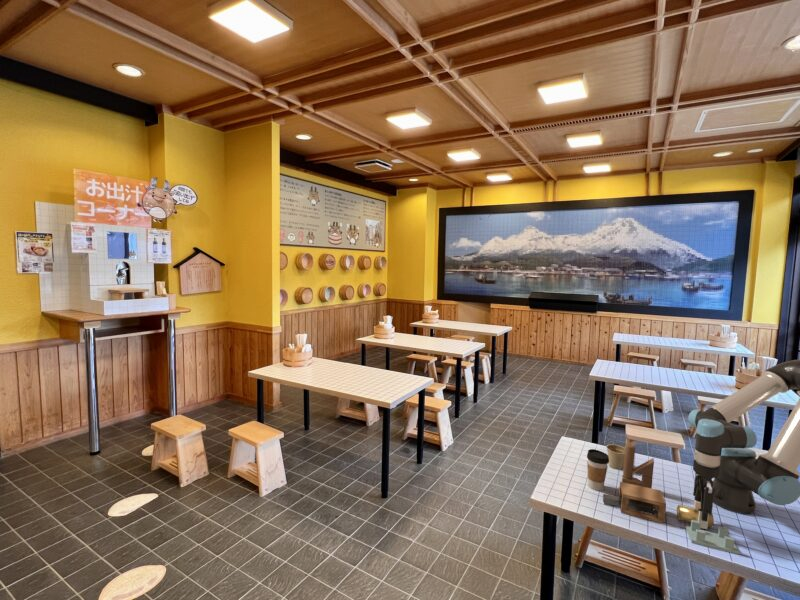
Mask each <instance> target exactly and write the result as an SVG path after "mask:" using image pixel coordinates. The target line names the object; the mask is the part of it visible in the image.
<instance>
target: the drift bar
mask: <svg viewBox="0 0 800 600" xmlns="http://www.w3.org/2000/svg"><path fill="white" fill-rule="evenodd" d="M602 502H603V505H606V506H611V507H616V508H620V509H621V502H622V497H619V495H618V496H617V495H612V494H611V495H610V494H607V493H603V494H602ZM628 509H632V510H636V511H641V512H645V513H649V514H653V515H654V511H655V510H654V507H653V505H652V504H651V503H647V502H643V501H638V500H634V499H628Z"/></svg>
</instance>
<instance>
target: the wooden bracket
mask: <svg viewBox="0 0 800 600" xmlns="http://www.w3.org/2000/svg"><path fill="white" fill-rule="evenodd" d="M624 448H625V458H624V467H623V469H622V470H623V473H622V476H621V482H623V483H628V484H633V485H637V486H642V487H647V488H651V489H653V478H654V477H653V476H654V468H655V467H654V464H655V460H654V459H655V458H654V457H652V458H650V459H649V460H646V461H645V462H643V463H641V464H639V465H637V466H636V467H634V466H635V465H634V464H635V454H636V445H633V444H631V443H626V444H625V447H624ZM634 474H638V475H641V480H640V479H638V478H637V477H633V475H634Z"/></svg>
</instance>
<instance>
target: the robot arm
mask: <svg viewBox="0 0 800 600" xmlns="http://www.w3.org/2000/svg"><path fill="white" fill-rule="evenodd" d="M790 390H797V391H796V393H797V396H798V397H799V398H798V401H797V402H796V403H795V406H794V407H793V408H792V411H791V412H790V413H789V416H787V417H788V418H787V419H786V421H785V423H784V424H783V425H782V427H781V429H780V431H779V433H778V434H777V435H776V438H775V439H774V441H773V442H772V445H770V448H769V449H768V451H767V452H766V453H763V454H759V455H758V457H757V454H756V451H755V450H753V449H751V448H753V447H755V446H756V445H757V443H758V436H757V434H756V432H755V431H754V430H753V429H752V428H750V427H749V426H744V425H735V424H733V423H731V422H732V421H734V420H736V419H738V418H739V417H741V416H742V415H744V414H746V413H747V412H749V411H751V410H752V409H754V408H756V407H758V406H759V405H760V404H763V403H764V402H765V401H768V400H770V399H771V398H773V397H774V396H776V395H777V394H779V393H782V394H784V393H787V392H789V391H790ZM687 420H688V423H689V424H690V425H691V427H693V428H695V429H696V433H695V434H696V435H695V443H694V444H695V445H694V448H695V449H694V451H692V454H693V455H694V457H693V462H692V470H693V471H694V476H695V477H694V485H693V486H694V487H693V492H692V493H693V495H692V496H693V497H694V498H693V499H694V506H693V507H694V509H698V511H699V518H698V521H699V522H700V529H702V530H703V529H705V530H708V528H709V527H708V518H709V514H713V506H714V504H716V505H717V506H719V507H720V508H722V509H726V510H728V511H731V512H735V513H738V514H746V515H747V514H748V515H749V514H754V513H755V512H756V507H757V505H756V502H755V498H754V497H755V496H754V494H753V493H755V494H756V495H758V496H759V497H760V498H761V499H764V500H765V501H768V502H770V503H772V504H774V505H777V506H786V505H790V504H793V503H795V502H796V501H797V500H798V499H799V497H800V481H799V478H800V473H799V471H798V468H799V466H800V359H793V360H787V361H784V362H781V363H779V364H775V365H772V366H771V367H769V368H767V369H765V370H764V371H763V372H761V376H760V377H758V378H756V379H755V380H753V381H752V382H750V383H748V384H746V385H745V386H743V387H742V388H740V389H738V390H737V391H735V392H733V393H731V394H730V395H728V396H727V397H725V398H723V399H722V400H720V401H718V402H717V403H716V404H714V405H712V406H710V407H709V408H707V409H705V410H703V409H693V410H691V412H689V414H688V417H687Z"/></svg>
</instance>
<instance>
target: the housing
mask: <svg viewBox="0 0 800 600" xmlns="http://www.w3.org/2000/svg"><path fill="white" fill-rule="evenodd" d="M618 487H619V488H618V489H619V490H618V497H622V502H621V508H620V512H621V513H622V514H624V515H629V516H633V517H637V518H641V519H645V520H650V521H652V522H653V521H654V522H658V523H662V524H665V518H666V510H667V509H666V507H667V502H666V500H665V498H664V495H663V492H662V491H661V490H660V489H655V488H652V489H651V488H647V487H642V486H637V485H633V484H628V483H623V482H622V481H619V486H618ZM628 499H634V500H638V501H643V502H647V503H651V504H652V505H653V507H654V510H653V511H657V514H654V513H653V514H651V513H646V512H641V511H636V510H632V509H628Z"/></svg>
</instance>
